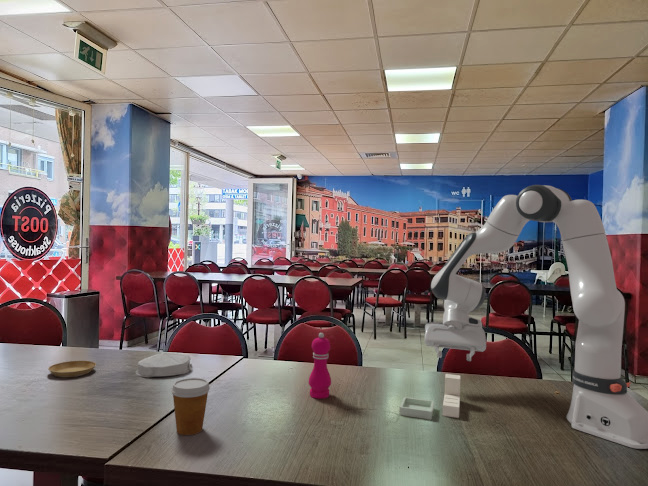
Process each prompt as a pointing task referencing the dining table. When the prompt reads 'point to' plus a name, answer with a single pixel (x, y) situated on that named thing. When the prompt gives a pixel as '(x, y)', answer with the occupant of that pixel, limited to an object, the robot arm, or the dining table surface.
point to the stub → (452, 384)
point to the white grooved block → (451, 405)
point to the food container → (164, 365)
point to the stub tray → (417, 408)
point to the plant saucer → (72, 368)
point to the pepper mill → (320, 368)
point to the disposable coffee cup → (190, 404)
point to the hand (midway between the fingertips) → (453, 358)
